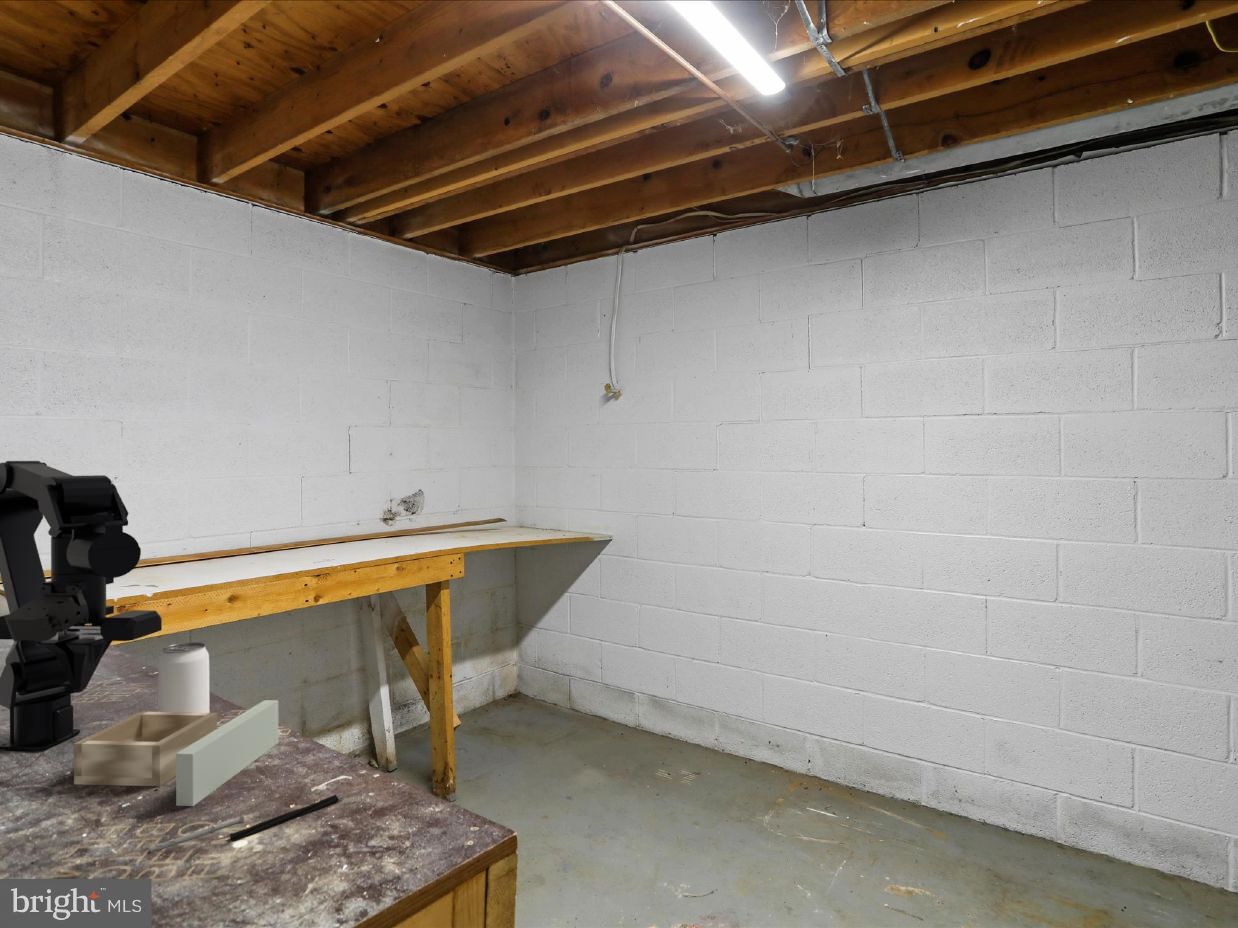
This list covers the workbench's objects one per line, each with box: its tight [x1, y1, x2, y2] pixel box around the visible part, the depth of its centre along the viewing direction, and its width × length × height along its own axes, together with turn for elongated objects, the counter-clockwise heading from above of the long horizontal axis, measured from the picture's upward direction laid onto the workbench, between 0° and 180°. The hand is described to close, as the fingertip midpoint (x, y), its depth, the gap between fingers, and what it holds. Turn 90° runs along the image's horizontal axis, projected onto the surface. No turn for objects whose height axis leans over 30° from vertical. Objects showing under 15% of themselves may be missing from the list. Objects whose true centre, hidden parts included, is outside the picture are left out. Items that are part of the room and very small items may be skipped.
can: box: [157, 641, 210, 713], centre depth 104 cm, size 6×6×12 cm
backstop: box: [175, 699, 280, 807], centre depth 89 cm, size 2×18×6 cm, turn 177°
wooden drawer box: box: [73, 711, 218, 787], centre depth 91 cm, size 11×11×5 cm
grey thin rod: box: [149, 814, 245, 853], centre depth 74 cm, size 1×9×1 cm, turn 135°
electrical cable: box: [229, 792, 346, 843], centre depth 77 cm, size 12×1×1 cm, turn 138°
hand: (79, 690), depth 91 cm, fingers closed
